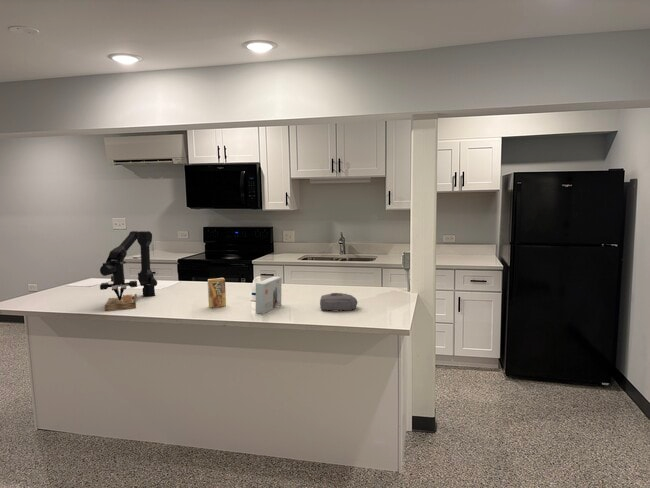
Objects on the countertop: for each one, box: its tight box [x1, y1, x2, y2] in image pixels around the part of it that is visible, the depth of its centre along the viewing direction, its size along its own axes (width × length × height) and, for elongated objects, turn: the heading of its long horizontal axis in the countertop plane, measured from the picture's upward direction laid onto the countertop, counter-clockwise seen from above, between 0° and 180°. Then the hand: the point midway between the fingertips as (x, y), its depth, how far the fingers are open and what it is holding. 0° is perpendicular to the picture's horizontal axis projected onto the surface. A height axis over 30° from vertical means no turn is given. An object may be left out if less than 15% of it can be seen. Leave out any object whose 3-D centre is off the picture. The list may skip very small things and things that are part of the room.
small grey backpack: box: [319, 292, 358, 311], centre depth 239 cm, size 15×8×20 cm
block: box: [122, 294, 133, 302], centre depth 255 cm, size 5×5×3 cm
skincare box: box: [255, 275, 283, 315], centre depth 240 cm, size 21×5×16 cm, turn 160°
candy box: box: [207, 277, 227, 309], centre depth 247 cm, size 9×4×15 cm, turn 116°
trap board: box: [104, 293, 138, 312], centre depth 255 cm, size 15×23×3 cm, turn 21°
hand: (120, 300), depth 253 cm, fingers closed
